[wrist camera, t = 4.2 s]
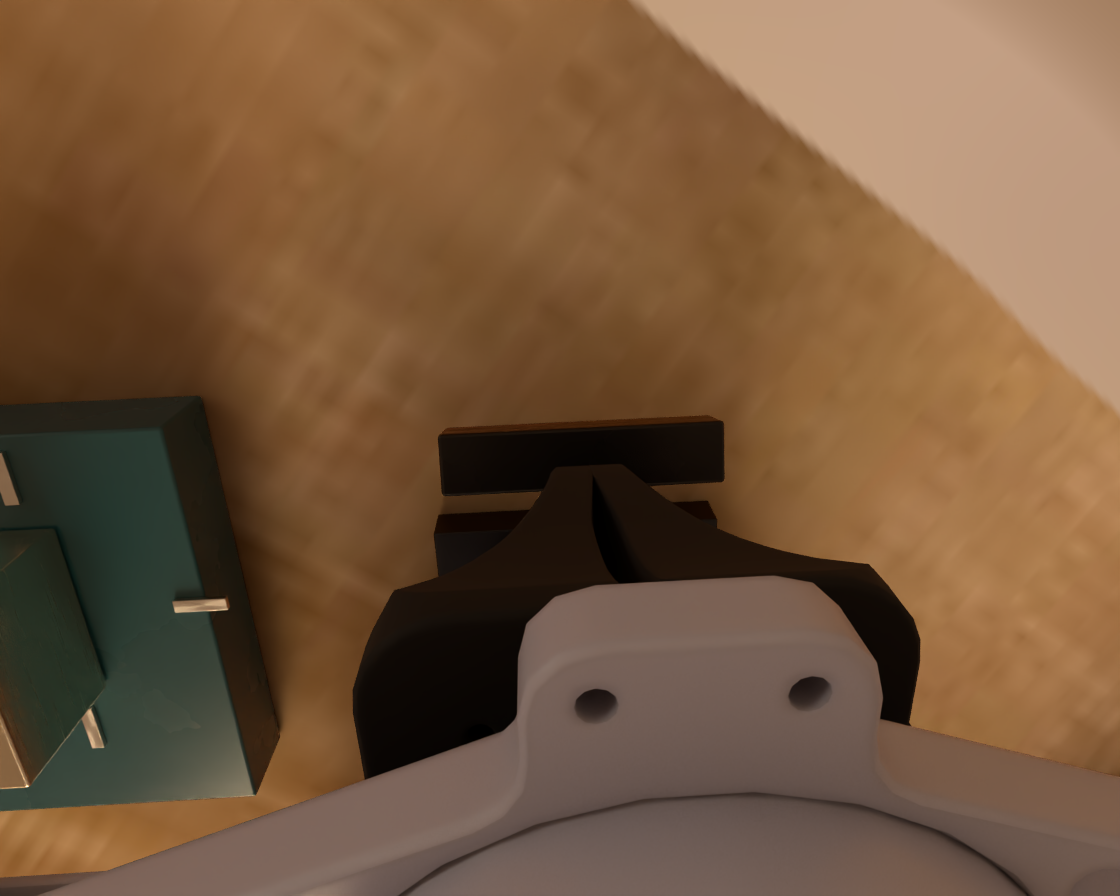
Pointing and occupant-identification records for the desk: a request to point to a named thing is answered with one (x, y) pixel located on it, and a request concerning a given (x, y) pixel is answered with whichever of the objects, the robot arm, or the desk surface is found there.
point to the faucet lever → (580, 452)
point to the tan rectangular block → (40, 655)
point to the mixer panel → (143, 601)
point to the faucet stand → (502, 532)
